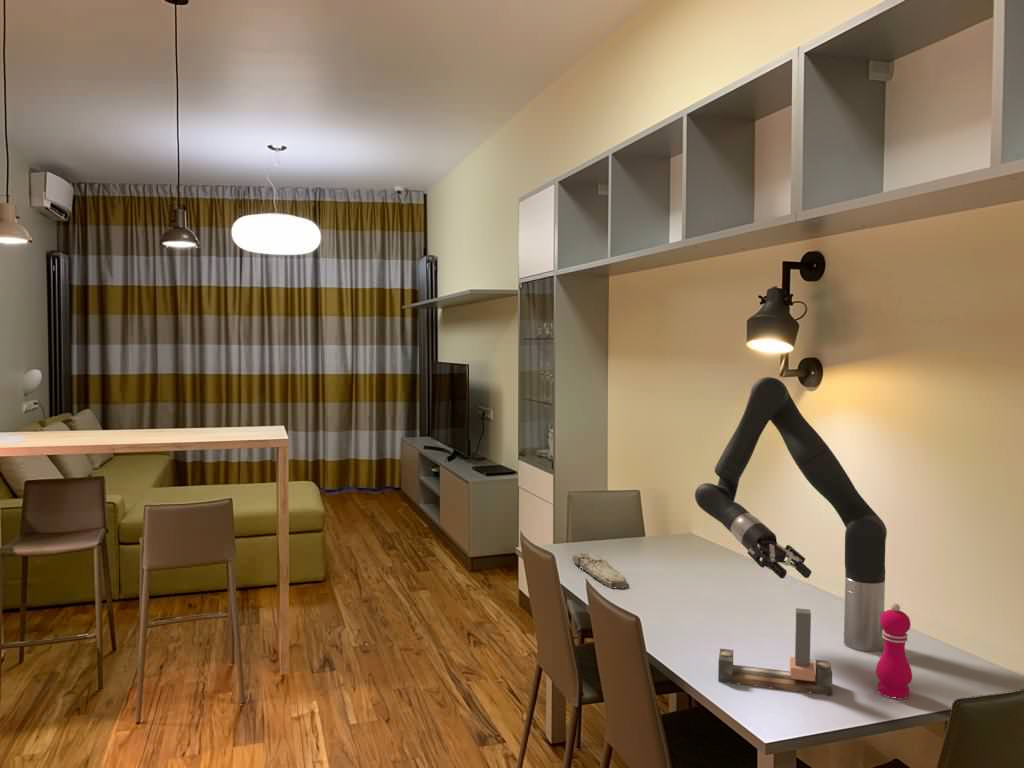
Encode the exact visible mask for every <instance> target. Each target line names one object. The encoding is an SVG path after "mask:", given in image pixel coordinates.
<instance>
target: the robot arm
mask: <svg viewBox="0 0 1024 768" xmlns="http://www.w3.org/2000/svg"><path fill="white" fill-rule="evenodd" d="M769 422H771V424H773V425H774V427H775V428H776V429H777V431H778V433H779V434H780V436H781V438H782V440H783V443H784V444H785V446H786V449H787V450H788V452H789V454H790V456H791V458H792V459H793V462H794V463H795V465H796V466H797V467H798V469H799V470H800V472H801V473H802V474H803V476H804V478H805V479H806V480H807V481H808V484H810V485H811V486H812V487H813V488H814V489H815V490H816V491H817V492H818V493H819V494H820V495H821V496H822V497H823V498H824V499H825V500H826V501H827V502H828V503H829V504H830V505H831V507H832V508H833V509H834V510H835V512H836V513H837V515H838V516H839V519H841V521H842V523H843V525H844V527H845V532H844V568H845V569H844V570H845V571H844V572H845V573H844V574H845V576H844V577H845V578H844V579H845V580H844V616H843V617H844V618H843V619H844V622H843V623H844V624H843V643H844V645H845V646H847V647H849V648H851V649H854V650H858V651H861V652H879V651H882V652H883V651H884V646H885V642H884V638H883V637H882V635H883V633H882V631H883V630H884V629H883V628H882V626H881V624H880V618H881V615H882V614H883V613H884V612H885V611H886V610H885V599H886V598H885V596H886V594H885V591H886V589H885V588H886V539H887V534H888V532H887V530H888V529H887V527H886V524H885V523H884V521H883V520H882V519H881V517H880V516H879V515H878V514H877V513H876V512H875V510H873V508H872V507H871V506H870V505H869V504H868V503H867V501H865V499H864V498H863V497H862V495H861V494H860V493H859V491H858V490H857V489H856V487H855V484H853V481H852V480H851V479H850V477H849V475H848V473H847V472H846V470H845V469H844V467H843V466H842V465H841V463H840V461H839V459H838V458H837V457H836V455H835V454H834V452H833V450H832V449H831V448H830V447H829V445H828V444H827V443H826V442H825V441H824V439H823V438H822V437H821V436H820V434H819V433H818V432H817V431H816V430H815V428H814V427H813V426H812V425H810V423H809V422H808V421H807V419H805V417H804V416H803V415H802V413H801V412H800V410H799V408H798V407H797V405H796V403H795V402H794V400H793V398H792V396H791V394H790V392H789V390H788V387H786V385H785V383H784V382H783V381H781V380H780V379H778V378H775V377H770V376H766V377H762V378H760V379H758V380H757V381H756V382H754V383H753V385H752V386H751V390H750V395H749V398H748V401H747V404H746V406H745V410H744V411H743V415H742V416H741V419H740V421H739V423H738V425H737V427H736V429H735V431H734V433H733V434H732V436H731V438H730V439H729V441H728V443H727V444H726V447H724V449H723V452H722V454H721V456H720V458H719V459H718V461H717V463H716V465H715V467H714V474H716V476H718V483H717V484H713V483H710V482H708V483H707V482H705V483H702V484H700V485H699V486H698V487H697V488H696V489H695V493H694V499H695V502H696V504H697V506H698V507H700V509H701V510H703V511H704V512H705V513H706V514H707V515H709V516H711V517H712V518H713V519H715V520H717V521H718V522H719V523H721V524H722V526H724V527H725V529H727V530H728V531H729V532H730V533H731V534H732V535H733V537H734V538H735V539H736V540H737V541H738V542H739V543H740V544H741V545H742V546H743V547H744V548H745V549H746V550H747V554H748V555H749V557H750V558H751V559H752V560H754V562H755V563H756V564H757V565H758V566H759V567H760V568H766V569H768V570H771V571H773V573H774V574H775V575H777V576H778V577H779V578H780V579H784V578H786V575H787V574H788V571H787V570H786V569H785V568H784V567H783V566H785V567H788V566H790V567H791V568H793V569H795V570H796V571H797V572H798V573H799V574H800V575H801V576H802V577H803V578H805V579H809V578H810V576H811V574H812V570H811V569H810V568H809V567H808V566H806V565H805V564H804V562H805V561H806V558H805V557H804V556H803V555H802V554H800V553H799V551H797V550H796V549H795V548H794V547H792V546H791V544H787V545H786V546H785V547H784V546H782V545H781V544H779V543H778V541H777V536H776V534H775V533H774V532H773V531H772V530H771V529H770V528H768V527H767V526H766V525H765V524H764V523H763V522H762V521H761V520H760V519H758V517H756V516H754V515H752V513H750V512H749V511H748V510H747V509H746V508H745V507H743V505H741V504H740V503H737V502H735V498H736V496H737V495H736V494H737V492H738V487H739V482H740V478H741V477H742V475H743V473H744V472H745V470H746V468H747V465H748V464H749V462H750V460H751V458H752V455H753V453H754V451H755V449H756V446H757V445H758V441H759V439H760V437H761V436H762V434H763V432H764V430H765V428H766V426H767V425H768V423H769ZM786 558H787V560H785V559H786ZM781 564H782V565H783V566H782V565H781Z"/></svg>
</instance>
